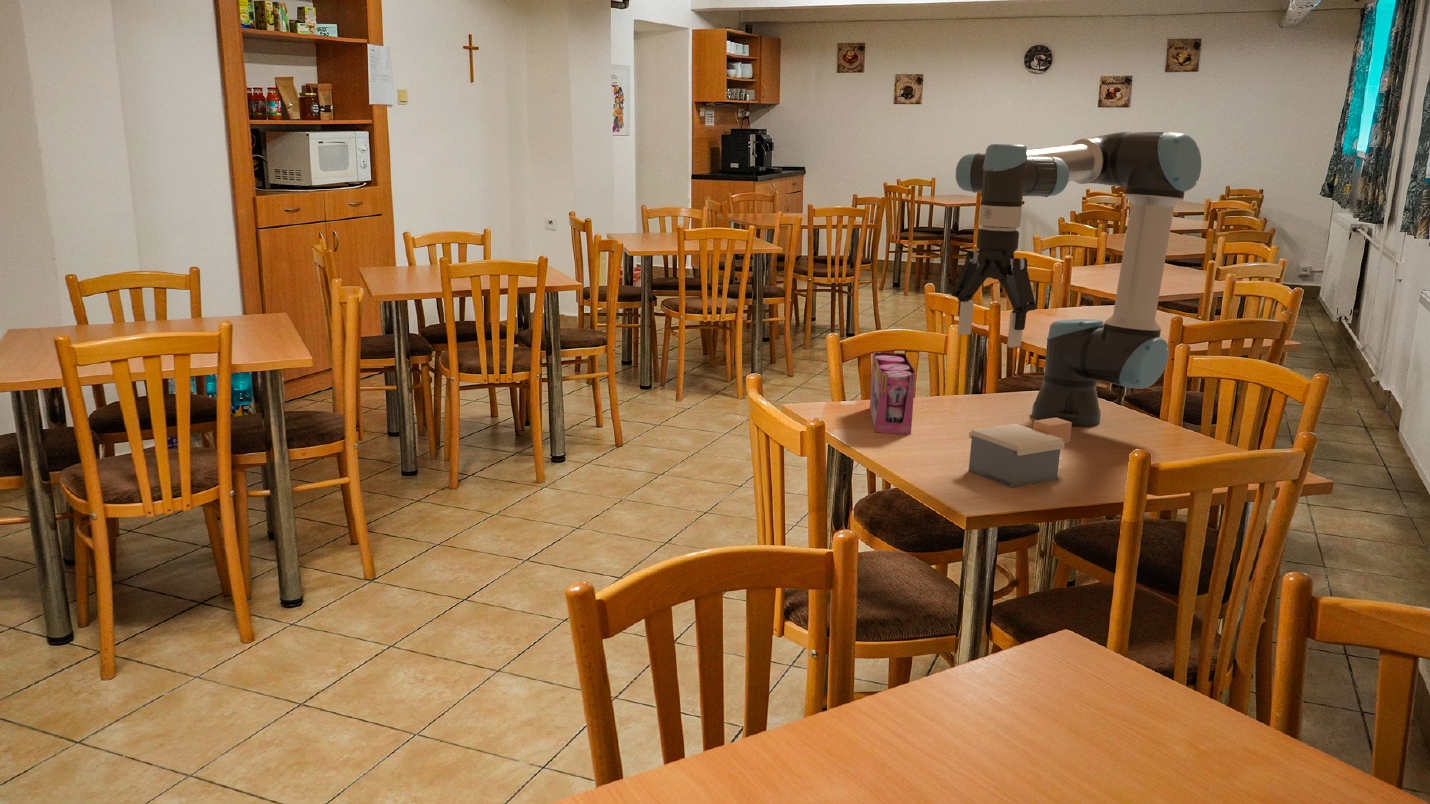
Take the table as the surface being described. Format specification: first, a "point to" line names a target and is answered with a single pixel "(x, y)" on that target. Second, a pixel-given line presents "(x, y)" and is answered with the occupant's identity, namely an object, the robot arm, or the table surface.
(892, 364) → the gum box
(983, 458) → the tub
